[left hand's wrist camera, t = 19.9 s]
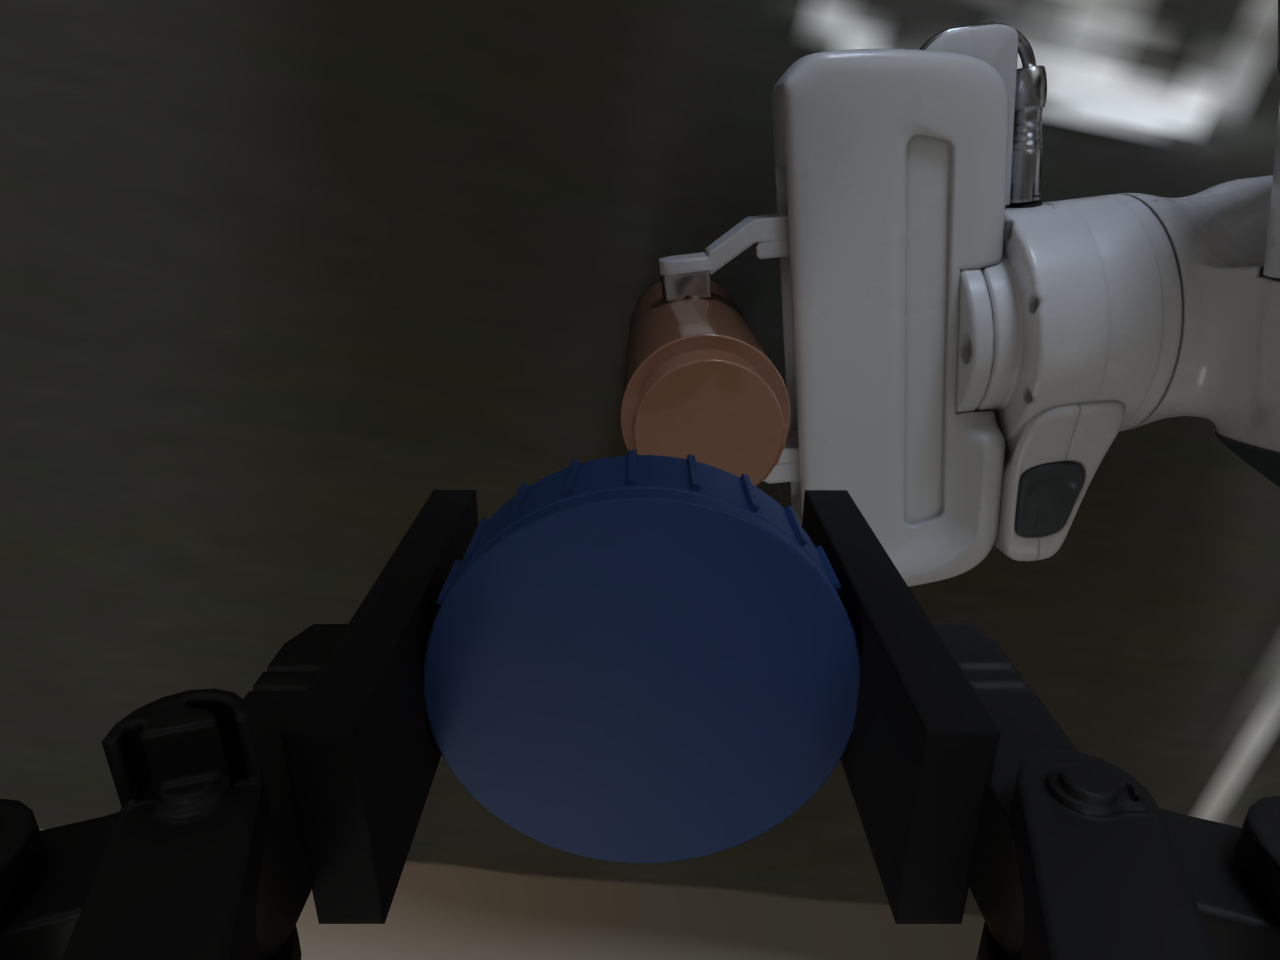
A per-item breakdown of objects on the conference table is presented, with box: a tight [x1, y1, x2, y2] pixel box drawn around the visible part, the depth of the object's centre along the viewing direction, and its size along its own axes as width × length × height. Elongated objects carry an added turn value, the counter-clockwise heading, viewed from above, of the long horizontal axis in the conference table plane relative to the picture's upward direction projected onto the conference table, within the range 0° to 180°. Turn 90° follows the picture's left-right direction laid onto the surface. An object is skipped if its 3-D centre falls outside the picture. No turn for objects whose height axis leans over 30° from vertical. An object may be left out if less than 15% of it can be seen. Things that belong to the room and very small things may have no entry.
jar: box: [620, 280, 791, 486], centre depth 30 cm, size 5×5×15 cm
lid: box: [423, 450, 861, 863], centre depth 11 cm, size 6×6×2 cm
